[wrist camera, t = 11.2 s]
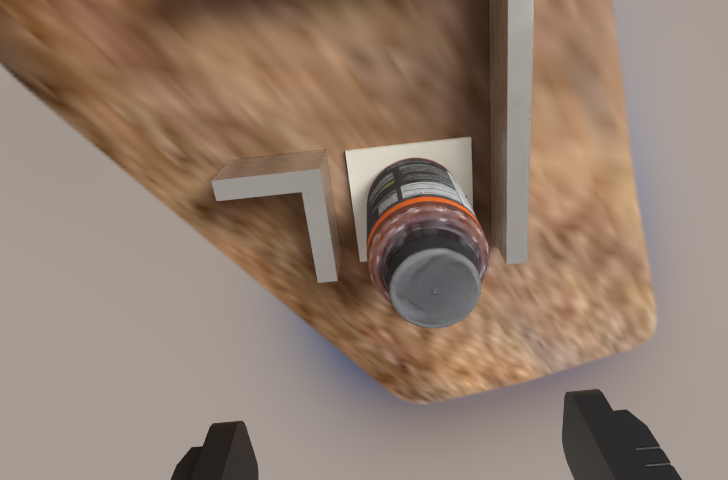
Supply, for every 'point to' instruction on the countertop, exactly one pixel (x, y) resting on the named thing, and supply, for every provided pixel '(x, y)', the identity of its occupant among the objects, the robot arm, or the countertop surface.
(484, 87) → the countertop surface
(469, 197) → the pad
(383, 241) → the supplement bottle
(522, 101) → the grey angled wall frame
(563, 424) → the robot arm
